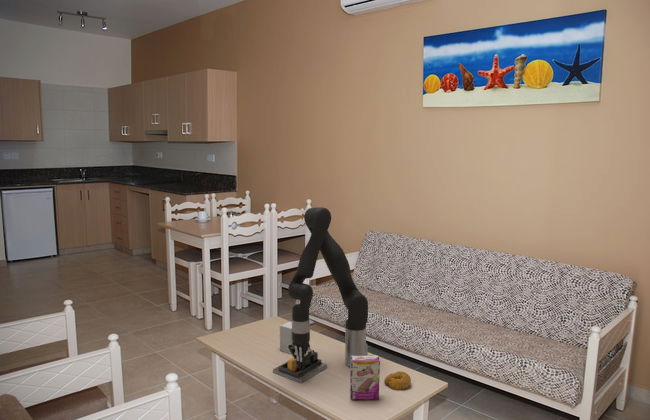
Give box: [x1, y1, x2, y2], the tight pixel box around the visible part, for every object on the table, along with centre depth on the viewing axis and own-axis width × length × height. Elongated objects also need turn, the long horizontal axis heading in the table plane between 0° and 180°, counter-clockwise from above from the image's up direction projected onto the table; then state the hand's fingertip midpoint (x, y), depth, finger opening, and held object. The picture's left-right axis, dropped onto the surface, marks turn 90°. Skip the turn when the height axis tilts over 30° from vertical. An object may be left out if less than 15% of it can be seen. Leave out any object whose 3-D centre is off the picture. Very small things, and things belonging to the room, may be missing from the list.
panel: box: [272, 351, 328, 384], centre depth 216 cm, size 16×18×7 cm
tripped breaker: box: [287, 357, 297, 371], centre depth 212 cm, size 2×3×5 cm
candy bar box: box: [349, 355, 381, 401], centre depth 192 cm, size 11×5×16 cm, turn 92°
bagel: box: [383, 370, 412, 391], centre depth 203 cm, size 10×11×5 cm
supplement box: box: [279, 321, 293, 355], centre depth 237 cm, size 7×7×13 cm
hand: (301, 368), depth 209 cm, fingers closed
